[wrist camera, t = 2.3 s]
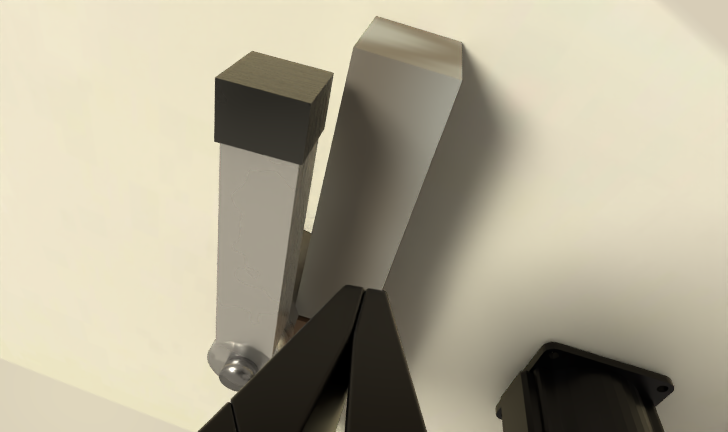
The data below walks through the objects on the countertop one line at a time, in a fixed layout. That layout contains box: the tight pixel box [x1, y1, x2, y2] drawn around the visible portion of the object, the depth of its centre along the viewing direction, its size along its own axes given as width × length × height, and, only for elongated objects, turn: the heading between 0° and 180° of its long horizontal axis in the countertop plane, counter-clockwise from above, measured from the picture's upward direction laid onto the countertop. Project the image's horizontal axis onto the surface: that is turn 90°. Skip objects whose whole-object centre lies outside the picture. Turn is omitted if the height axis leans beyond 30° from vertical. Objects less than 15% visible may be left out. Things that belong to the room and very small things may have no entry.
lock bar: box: [207, 51, 334, 392], centre depth 14 cm, size 12×3×3 cm, turn 168°
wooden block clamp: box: [289, 16, 462, 335], centre depth 19 cm, size 5×22×6 cm, turn 166°
